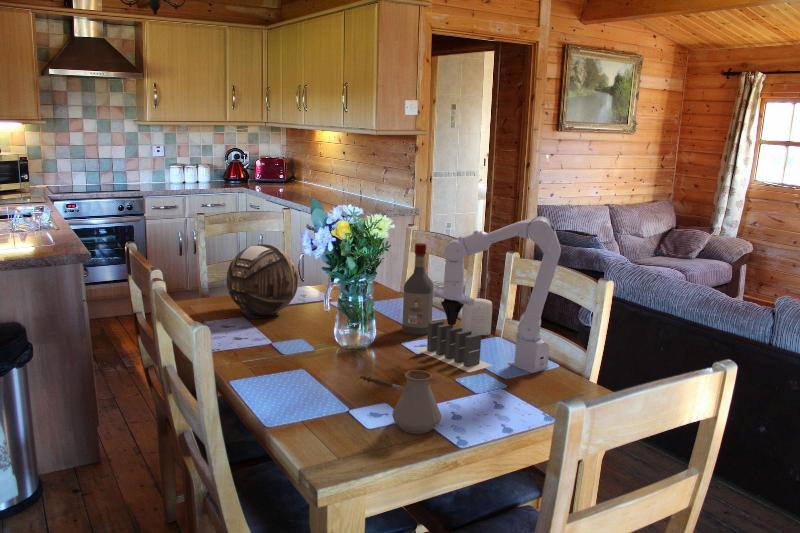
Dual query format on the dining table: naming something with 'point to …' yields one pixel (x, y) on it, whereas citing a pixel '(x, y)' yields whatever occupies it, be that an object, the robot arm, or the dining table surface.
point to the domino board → (451, 361)
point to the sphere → (262, 279)
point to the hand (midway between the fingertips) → (451, 324)
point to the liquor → (418, 297)
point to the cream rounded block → (477, 317)
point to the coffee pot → (413, 402)
